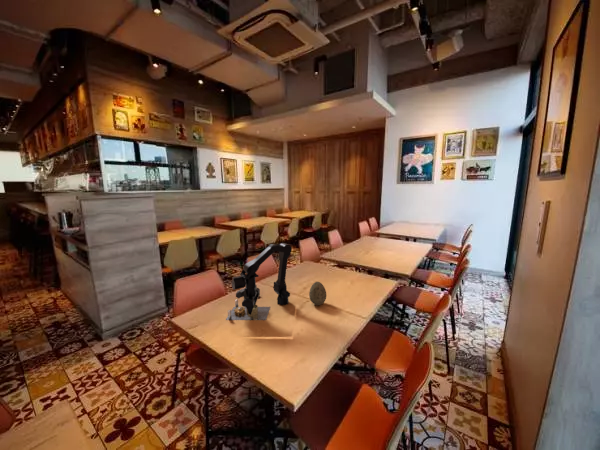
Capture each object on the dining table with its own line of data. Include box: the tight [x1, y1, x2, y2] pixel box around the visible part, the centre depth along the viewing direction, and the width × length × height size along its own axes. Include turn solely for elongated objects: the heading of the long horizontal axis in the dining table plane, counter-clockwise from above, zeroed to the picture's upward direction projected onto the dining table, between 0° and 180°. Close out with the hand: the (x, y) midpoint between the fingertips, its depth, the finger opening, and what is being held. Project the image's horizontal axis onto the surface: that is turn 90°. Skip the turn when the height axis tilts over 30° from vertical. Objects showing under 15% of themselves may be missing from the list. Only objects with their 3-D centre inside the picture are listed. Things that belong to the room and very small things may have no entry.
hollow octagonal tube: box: [247, 303, 259, 316], centre depth 141 cm, size 6×6×4 cm
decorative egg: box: [308, 281, 327, 306], centre depth 151 cm, size 11×11×15 cm
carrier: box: [225, 298, 271, 321], centre depth 141 cm, size 23×15×6 cm, turn 87°
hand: (252, 310), depth 141 cm, fingers open, 9 cm apart
